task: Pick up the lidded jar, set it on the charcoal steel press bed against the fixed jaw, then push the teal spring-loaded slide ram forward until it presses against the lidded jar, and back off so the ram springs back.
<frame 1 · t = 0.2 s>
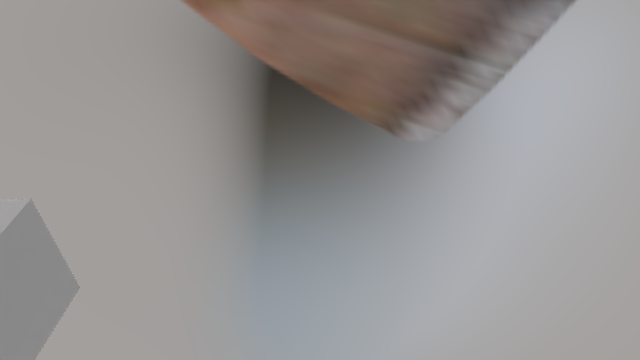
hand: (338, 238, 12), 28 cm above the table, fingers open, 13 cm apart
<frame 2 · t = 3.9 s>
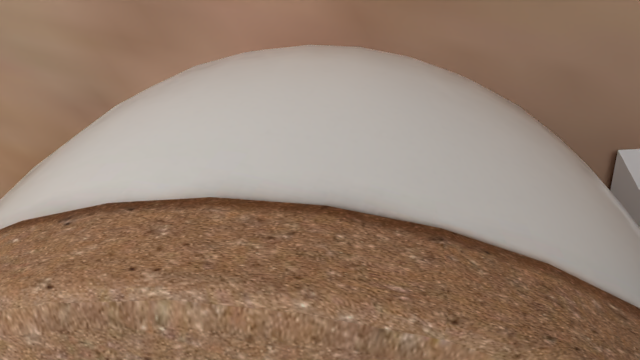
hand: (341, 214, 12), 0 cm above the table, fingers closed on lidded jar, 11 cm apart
lidded jar: (344, 193, 13), on the table, touching gripper
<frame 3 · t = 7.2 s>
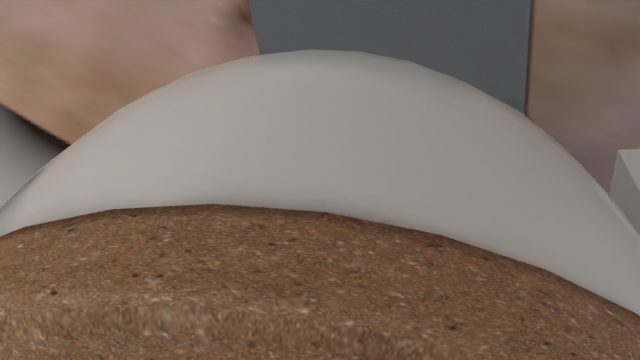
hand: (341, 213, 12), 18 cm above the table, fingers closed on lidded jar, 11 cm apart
lidded jar: (345, 196, 13), point 17 cm above the table, touching gripper
press bed: (389, 40, 29), on the table
when the fingers open (3 cm above the table, at t = 10.6 s): lidded jar drops 1 cm, resting on press bed.
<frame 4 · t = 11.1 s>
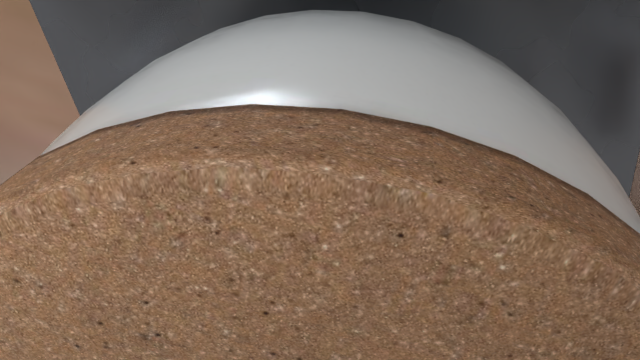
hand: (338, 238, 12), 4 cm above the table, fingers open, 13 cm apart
lidded jar: (348, 158, 14), point 1 cm above the table, touching press bed
press bed: (365, 242, 17), on the table
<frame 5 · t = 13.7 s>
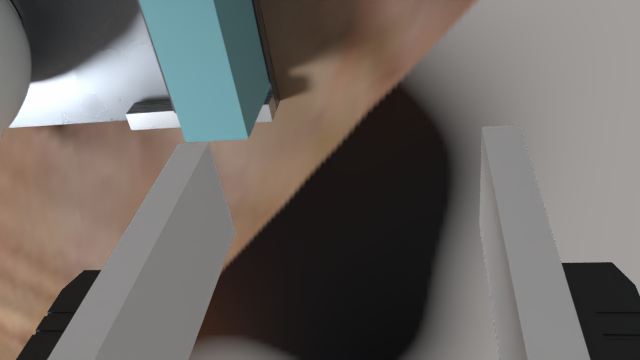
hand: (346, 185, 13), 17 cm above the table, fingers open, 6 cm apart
press bed: (37, 7, 30), on the table
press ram: (197, 14, 25), point 4 cm above the table, slide at 0.0 cm
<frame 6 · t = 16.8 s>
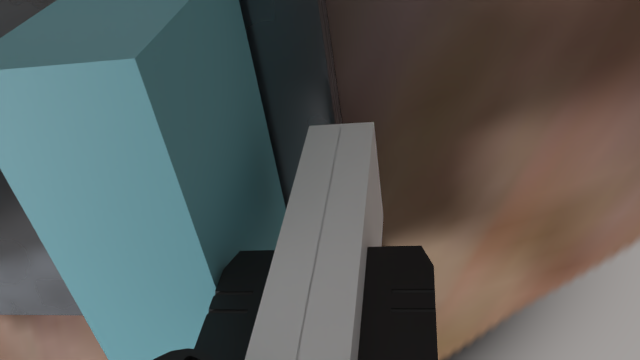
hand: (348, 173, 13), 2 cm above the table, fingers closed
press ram: (176, 222, 13), point 4 cm above the table, slide at 1.7 cm, touching gripper
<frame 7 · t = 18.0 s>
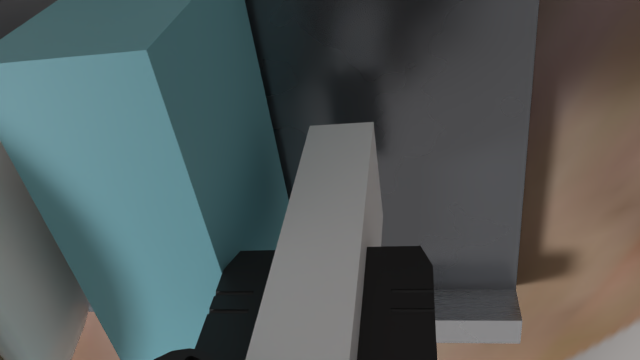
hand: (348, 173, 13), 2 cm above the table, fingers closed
press bed: (98, 138, 17), on the table
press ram: (182, 215, 13), point 4 cm above the table, slide at 6.3 cm, touching gripper
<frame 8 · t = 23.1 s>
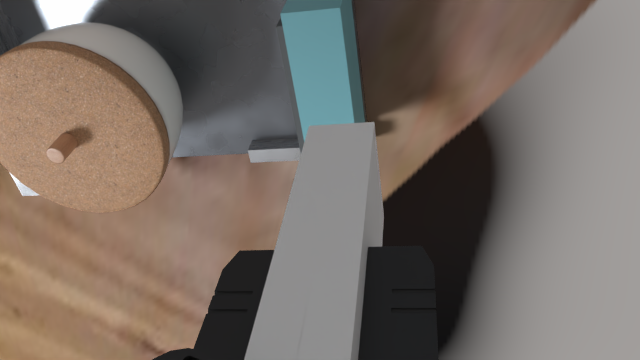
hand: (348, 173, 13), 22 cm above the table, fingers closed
lidded jar: (126, 75, 38), point 1 cm above the table, touching press bed
press bed: (179, 66, 38), on the table
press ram: (324, 80, 33), point 4 cm above the table, slide at 0.0 cm
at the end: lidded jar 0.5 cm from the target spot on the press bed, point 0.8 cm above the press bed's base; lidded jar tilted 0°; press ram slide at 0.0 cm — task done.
